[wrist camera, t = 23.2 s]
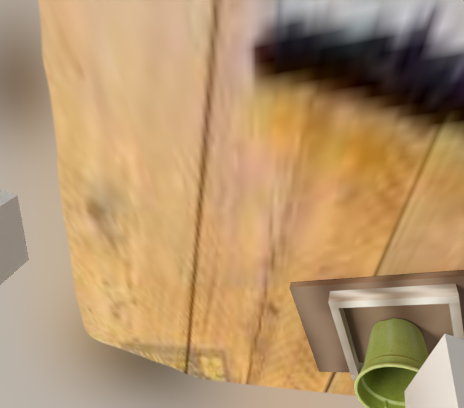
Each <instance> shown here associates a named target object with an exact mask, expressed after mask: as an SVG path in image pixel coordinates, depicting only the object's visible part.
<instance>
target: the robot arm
mask: <svg viewBox="0 0 464 408" xmlns="http://www.w3.org/2000/svg"><path fill="white" fill-rule="evenodd" d="M28 260H29V258H28V253H27V246H26V241H25V236H24V230H23V225H22V219H21V214H20V209H19V203H18V197H17V195H15V194H12V193H9V192H6V191H3V190H0V285H1V284H2V283H3V282H4V281H5V280H6V279H7V278H8V277H9V276H11V275H12V274H13V273H14V272H15V271H16V270H18V269H19V268H20V267H21V266H22V265H23V264H24V263H25V262H26V261H28ZM404 394H405V408H464V340H463V339H460V338H457V337H454V336H451V335H448V334H444V335H443V337H442V338H441V340H440V341H439V342H438V344H437V345H436V347H435V348H434V350H433V351H432V353H431V354H430V355H429V357H428V358H427V360H426V361H425V363H424V364H423V365H422V367H421V368H420V370H419V371H418V373H417V374H416V376H415V377H414V378H413V380H412V381H411V383H410V384H409V386H408V387H407V388H406V390H405V391H404Z"/></svg>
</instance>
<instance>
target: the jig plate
mask: <svg viewBox="0 0 464 408" xmlns="http://www.w3.org/2000/svg"><path fill="white" fill-rule="evenodd" d="M290 290H291V293H292V296H293V299H294V302H295V304H296V307H297V310H298V313H299V316H300V319H301V321H302V324H303V327H304V330H305V333H306V335H307V338H308V341H309V344H310V347H311V350H312V352H313V355H314V358H315V361H316V364H317V366H318V369H319V372H350V374H351V377H352V380H356V377H357V376H358V374H359V373H360V372H361V369H362V368H363V366H364V362H365V357H366V353H367V349H368V344H369V338H370V334H371V330H372V327H373V326H374V325H375V324H376V323H377V322H379V321H385V320H389V319H392V318H398V319H403V320H407V321H409V322H411V323H413V324H414V325H416V326H417V327H418V328H419V330H420V331H421V333H422V335H423V338H424V341H425V345H426V348H427V352H428V355H430V354H431V353H432V351H433V350H434V348H435V347H436V345H437V344H438V342H439V341H440V340H441V338H442V337H443V335H444V334H448V335H451V336H454V337H457V338H460V339H463V340H464V270H457V271H443V272H429V273H416V274H402V275H388V276H374V277H360V278H346V279H332V280H318V281H304V282H291V284H290Z"/></svg>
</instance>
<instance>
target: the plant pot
mask: <svg viewBox="0 0 464 408" xmlns="http://www.w3.org/2000/svg"><path fill="white" fill-rule="evenodd" d="M428 357H429V355H428V352H427V348H426V345H425V341H424V338H423V335H422V333H421V331H420V330H419V328H418V327H417V326H416V325H414V324H413V323H411V322H409V321H407V320H403V319H398V318H392V319H389V320H385V321H379V322H377V323H376V324H375V325H374V326H373V327H372V330H371V334H370V338H369V344H368V349H367V353H366V357H365V362H364V366H363V368H362V369H361V372H360V373H359V374H358V376H357V377H356V380H355V384H354V390H355V394H356V396H357V398H358V400H359V401H360V402H361V404H362V405H363V406H365V407H366V408H405V394H404V391H405V390H406V388H407V387H408V386H409V384H410V383H411V381H412V380H413V378H414V377H415V376H416V374H417V373H418V371H419V370H420V368H421V367H422V365H423V364H424V363H425V361H426V360H427V358H428Z"/></svg>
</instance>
